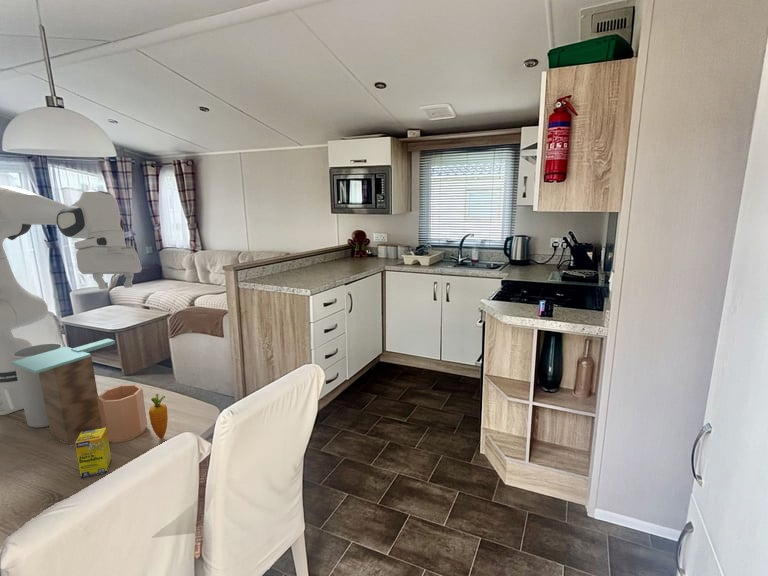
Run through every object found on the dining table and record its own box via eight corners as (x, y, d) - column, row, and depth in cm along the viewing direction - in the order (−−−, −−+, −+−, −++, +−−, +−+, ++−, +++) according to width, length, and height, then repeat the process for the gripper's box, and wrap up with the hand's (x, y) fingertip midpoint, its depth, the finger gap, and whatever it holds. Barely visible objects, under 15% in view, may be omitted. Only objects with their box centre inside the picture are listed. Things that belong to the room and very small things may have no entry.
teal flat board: (99, 339, 136) (99, 336, 136) (124, 346, 130) (123, 342, 130) (11, 364, 116) (11, 360, 115) (36, 373, 109) (35, 369, 109)
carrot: (158, 434, 126) (152, 391, 123) (173, 434, 126) (168, 391, 123) (149, 443, 121) (142, 398, 118) (165, 443, 121) (159, 399, 118)
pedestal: (86, 421, 133) (73, 348, 128) (103, 428, 129) (91, 354, 123) (51, 436, 125) (36, 359, 119) (68, 444, 120) (53, 365, 115)
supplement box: (80, 479, 105) (74, 443, 103) (87, 466, 111) (80, 431, 108) (107, 473, 108) (101, 438, 105) (112, 460, 113) (106, 426, 111)
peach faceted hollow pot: (98, 444, 121) (91, 402, 118) (116, 424, 131) (110, 385, 128) (136, 441, 122) (130, 399, 119) (151, 421, 133) (146, 383, 130)
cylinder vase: (71, 422, 133) (58, 352, 127) (23, 432, 126) (7, 360, 121) (77, 405, 143) (65, 341, 138) (32, 415, 137) (18, 347, 132)
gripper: (125, 247, 130) (133, 288, 130) (68, 243, 109) (78, 291, 110) (142, 243, 129) (150, 285, 129) (88, 238, 109) (98, 288, 109)
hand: (116, 288), depth 119 cm, fingers open, 8 cm apart
